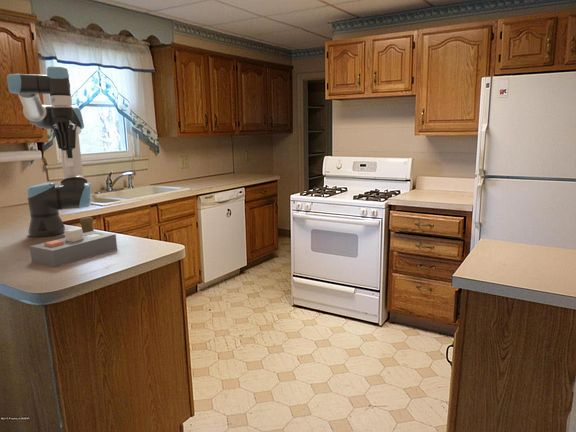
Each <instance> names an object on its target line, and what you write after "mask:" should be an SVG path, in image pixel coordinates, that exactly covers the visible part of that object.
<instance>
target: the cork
mask: <svg viewBox="0 0 576 432" xmlns="http://www.w3.org/2000/svg"><path fill="white" fill-rule="evenodd" d="M79 224H80V226H81V229H82V231H83V233H86V232H90V231H94V226H93V224H94V218H93V217H91V216H83V217H81V218H80V219H79Z"/></svg>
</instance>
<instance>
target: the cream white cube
mask: <svg viewBox="0 0 576 432" xmlns="http://www.w3.org/2000/svg"><path fill="white" fill-rule="evenodd" d="M64 238H65V240H66V241H70V242H75V241H78V240H82V239H83V231H82V228H77V227H73V228H69V229H65V230H64Z"/></svg>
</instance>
